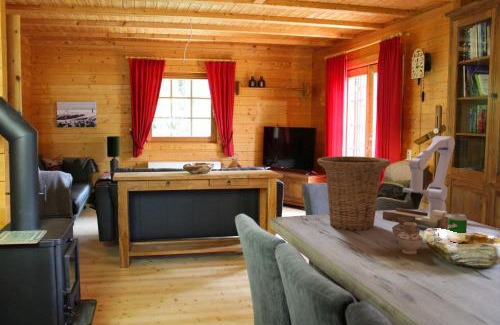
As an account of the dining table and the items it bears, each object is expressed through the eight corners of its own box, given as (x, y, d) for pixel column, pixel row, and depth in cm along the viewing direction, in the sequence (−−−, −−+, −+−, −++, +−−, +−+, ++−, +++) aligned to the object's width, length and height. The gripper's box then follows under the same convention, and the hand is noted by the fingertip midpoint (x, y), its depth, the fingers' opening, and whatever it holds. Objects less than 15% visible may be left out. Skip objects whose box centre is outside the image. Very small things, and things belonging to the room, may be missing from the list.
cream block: (435, 218, 241) (435, 209, 241) (446, 220, 237) (447, 211, 237) (429, 220, 237) (429, 211, 237) (441, 222, 233) (441, 213, 233)
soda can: (462, 239, 210) (463, 213, 209) (468, 244, 203) (469, 216, 202) (444, 239, 211) (445, 212, 210) (450, 243, 204) (451, 216, 202)
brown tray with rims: (397, 214, 263) (397, 206, 262) (454, 224, 240) (455, 215, 239) (381, 219, 252) (381, 210, 252) (440, 229, 229) (440, 220, 228)
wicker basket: (312, 231, 225) (313, 161, 221) (319, 216, 258) (320, 155, 255) (389, 236, 216) (392, 163, 213) (386, 219, 250) (388, 157, 247)
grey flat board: (435, 218, 254) (435, 215, 254) (457, 222, 245) (457, 219, 245) (407, 226, 234) (407, 223, 234) (430, 231, 225) (430, 228, 225)
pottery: (396, 255, 187) (397, 225, 186) (390, 239, 211) (391, 212, 210) (426, 257, 185) (427, 227, 184) (417, 240, 209) (418, 213, 208)
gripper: (400, 180, 247) (399, 206, 248) (426, 183, 236) (425, 210, 238) (406, 179, 252) (406, 204, 253) (433, 182, 241) (432, 208, 243)
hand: (416, 207), depth 246 cm, fingers closed
